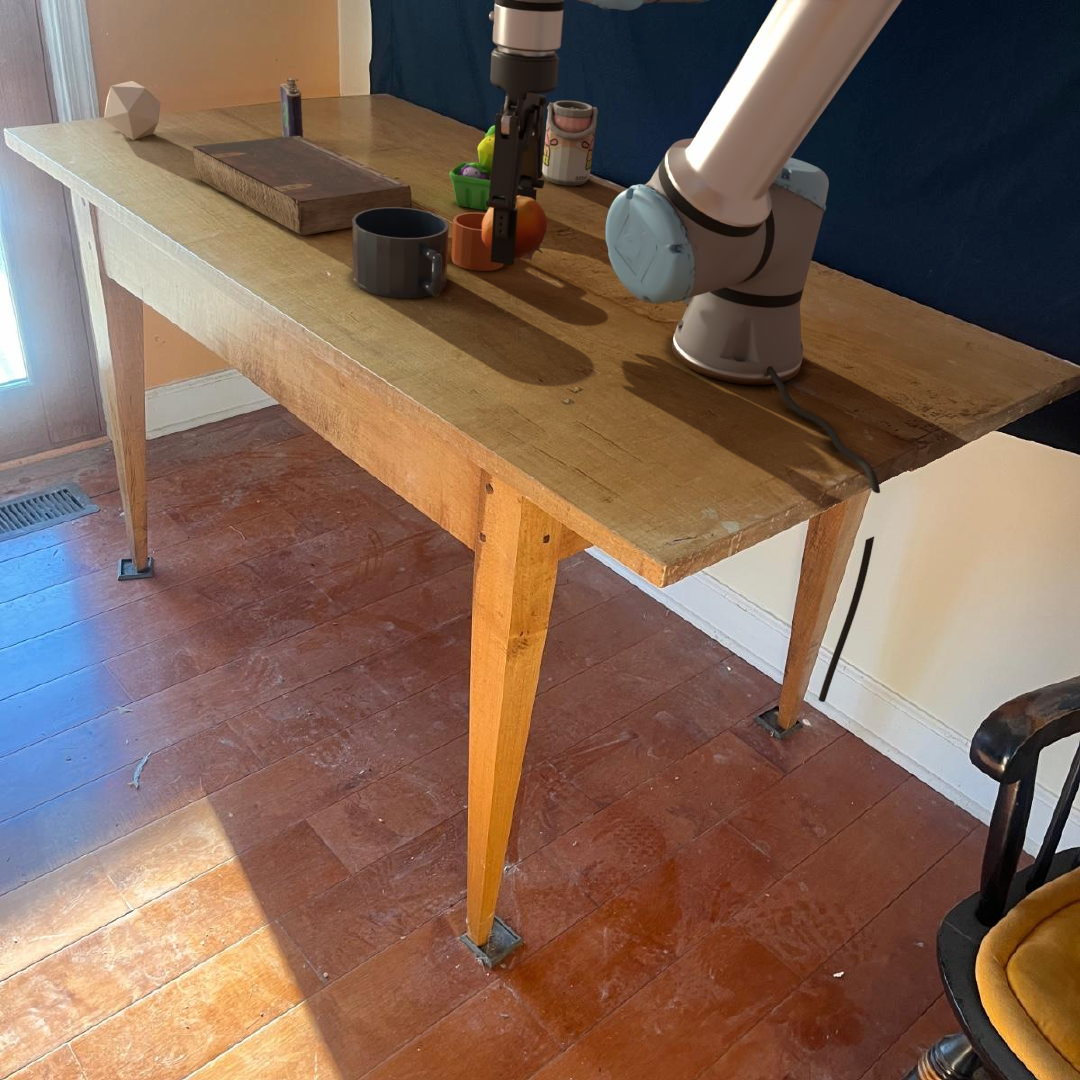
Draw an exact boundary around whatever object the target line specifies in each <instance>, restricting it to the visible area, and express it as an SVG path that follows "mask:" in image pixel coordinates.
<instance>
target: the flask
mask: <svg viewBox="0 0 1080 1080" xmlns="http://www.w3.org/2000/svg"><path fill="white" fill-rule="evenodd" d="M285 81H286V83H281V84H280V85H279V92H280V93H279V94H280V95H279V96H280V109H281V130H282V133H281V137H290V136H301V137H303V138H304V130H303V128H304V127H303V109H302V108H303V107H302V92H301V90H300V89H299V88H298V86H297V84H296V82H298V81H299V78H295V77H294V78H285Z"/></svg>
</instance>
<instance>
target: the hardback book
mask: <svg viewBox="0 0 1080 1080" xmlns="http://www.w3.org/2000/svg"><path fill="white" fill-rule="evenodd" d="M192 152H193V153H192V154H193V162H194V163H193V164H194V172H195V178H196V179H198V180H200V181H202V182H204V183H206V184H207V185H209V186H211V187H212V188H214V189H216V190H219V191H220V192H222V193H224V194H225V195H227V196H230V197H231V198H233V199H235V200H237V201H238V202H241V203H242V204H244V205H246V206H247V207H249V208H251V209H253V210H254V211H256V212H259V213H260V214H262V215H264V216H266V217H268V218H269V219H272V220H273V221H275V222H277V223H279V224H280V225H282V226H284V227H286V228H288V229H290V230H291V231H293V232H295V233H297V234H298V235H301V236H307V235H311V234H318V233H324V232H331V231H336V230H342V229H348V228H352V219H353V217H354V216H355V215H356V214H358V213H360V212H362V211H365V210H369V209H374V208H383V207H401V208H412V189H411V186H410V185H409V184H408V183H405V182H403V181H400V180H398V179H396V178H393V177H391V176H389V175H387V174H385V173H382V172H380V171H378V170H375V169H373V168H371V167H369V166H367V165H364V164H362V163H361V162H358V161H356V160H353V158H352V159H351V158H350V157H347V156H345V155H343V154H340V153H339V152H336V151H334V150H331V149H329V148H328V147H325V146H323V145H320V144H318V143H316V142H314V141H312V140H310V139H307V138H305V137H304V136H303V137H301V136H290V137H282V136H281V137H280V136H279V137H271V138H261V139H250V140H240V141H230V142H229V141H228V142H218V143H209V144H199V145H198V144H197V145H192Z"/></svg>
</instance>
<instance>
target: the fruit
mask: <svg viewBox="0 0 1080 1080" xmlns="http://www.w3.org/2000/svg"><path fill="white" fill-rule="evenodd" d="M515 208H516V209H518V213H517V227H516V242H515V256H514V260H519V259H520V260H521V259H525V260H529V261H532V259H533V258H532V257H533V256H534V254H535V252H536V251H537V252H540V253H541V254H543V251H542V250H541V249H540V248H541V245H542V243H543V241H544V239H545V236H546V234H547V233H546V232H547V228H548V221H547V216H546V212H545V211H544V209H543V207H542V206H541V205H540V204H539V203H538V201H537V200H536V201H535V200H534V199H533V198H531V197H524V196H520V195H518V196H517V198H516V207H515ZM493 209H494V208H491V207H490V208H489V209H488V211H487V210H486V212H485V213H486V214H485V216H484V218H483V221H482V241H483V242H484V244H485V245H486V246H487V247H488V248H489V250H490V251H491V245H492V227H493Z"/></svg>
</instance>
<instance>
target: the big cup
mask: <svg viewBox="0 0 1080 1080" xmlns="http://www.w3.org/2000/svg"><path fill="white" fill-rule="evenodd" d="M351 229H352V230H351V233H352V234H351V236H352V237H351V239H352V240H351V241H352V246H351V247H352V281H353V283H354V284H355V285H356V286H357V288H359V289H360V290H363V291H364V292H367V293H370V294H373V295H376V296H381V297H384V298H392V299H418V298H419V299H420V298H425V297H430V296H433V297H436V298H437V297H439V296H440V295H441V294H442V290H444V288H445V287H446V285H447V278H448V275H447V274H448V254H449V253H448V252H449V231H450V230H449V229H450V226H449V223H448V221H447V220H446V219H444V218H443V217H442V216H440V215H437V214H435V213H433V212H430V211H426V210H423V209H417V208H416V209H415V208H412V207H411V208H401V207H383V208H374V209H369V210H365V211H362V212H360V213H358V214H356V215H355V216H354V217H353V219H352V227H351Z"/></svg>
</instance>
